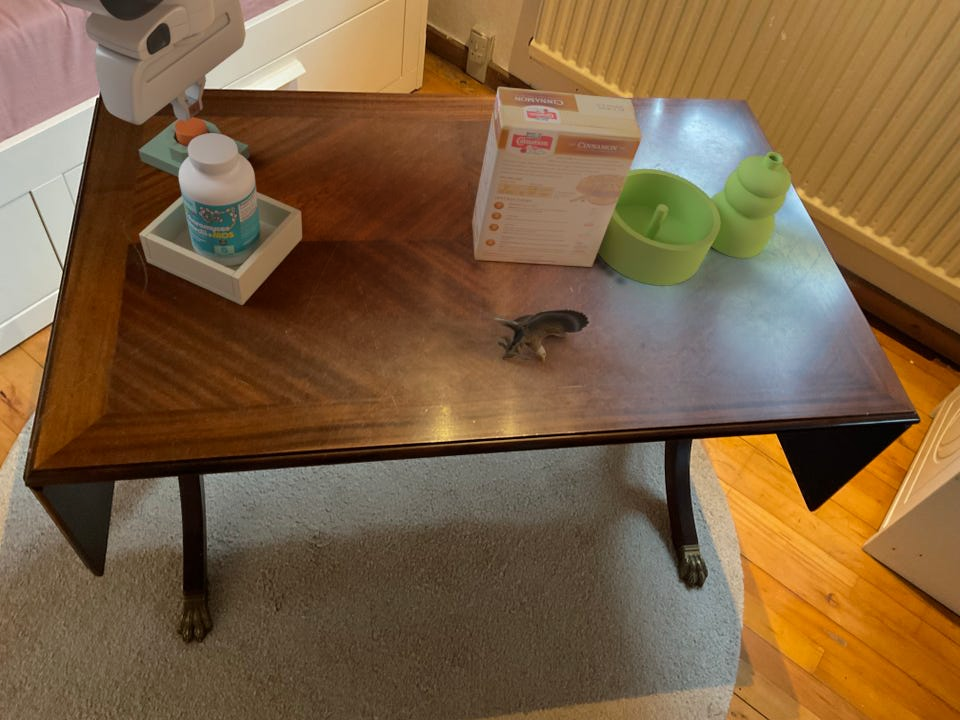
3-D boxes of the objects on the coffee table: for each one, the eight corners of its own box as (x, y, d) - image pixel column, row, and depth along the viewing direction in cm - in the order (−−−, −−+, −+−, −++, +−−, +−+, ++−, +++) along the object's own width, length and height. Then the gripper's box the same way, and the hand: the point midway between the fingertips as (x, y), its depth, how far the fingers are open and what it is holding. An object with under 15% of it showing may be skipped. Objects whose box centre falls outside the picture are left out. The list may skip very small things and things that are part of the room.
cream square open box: (146, 262, 81) (138, 234, 78) (213, 199, 88) (208, 171, 85) (242, 305, 80) (238, 278, 76) (302, 238, 87) (301, 210, 84)
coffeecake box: (584, 228, 96) (632, 97, 80) (593, 269, 91) (645, 138, 76) (470, 220, 93) (496, 83, 78) (473, 261, 89) (502, 124, 74)
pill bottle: (178, 253, 82) (155, 154, 71) (217, 213, 86) (201, 114, 75) (238, 278, 81) (223, 182, 70) (275, 237, 85) (266, 140, 75)
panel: (141, 161, 90) (135, 137, 88) (182, 127, 95) (178, 104, 92) (211, 192, 89) (207, 169, 86) (250, 156, 94) (247, 133, 91)
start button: (170, 140, 89) (168, 128, 87) (189, 125, 91) (187, 113, 90) (196, 151, 88) (194, 139, 87) (214, 136, 91) (212, 124, 89)
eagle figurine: (540, 389, 78) (599, 340, 81) (518, 336, 74) (580, 287, 77) (497, 368, 84) (553, 323, 87) (474, 318, 80) (534, 273, 83)
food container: (619, 292, 90) (655, 214, 80) (575, 210, 97) (602, 130, 88) (787, 267, 97) (839, 194, 87) (734, 193, 105) (775, 117, 95)
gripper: (203, -49, 83) (219, 63, 94) (71, 31, 70) (107, 149, 81) (253, -30, 82) (263, 81, 93) (127, 54, 70) (156, 170, 81)
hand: (189, 114), depth 87 cm, fingers closed
